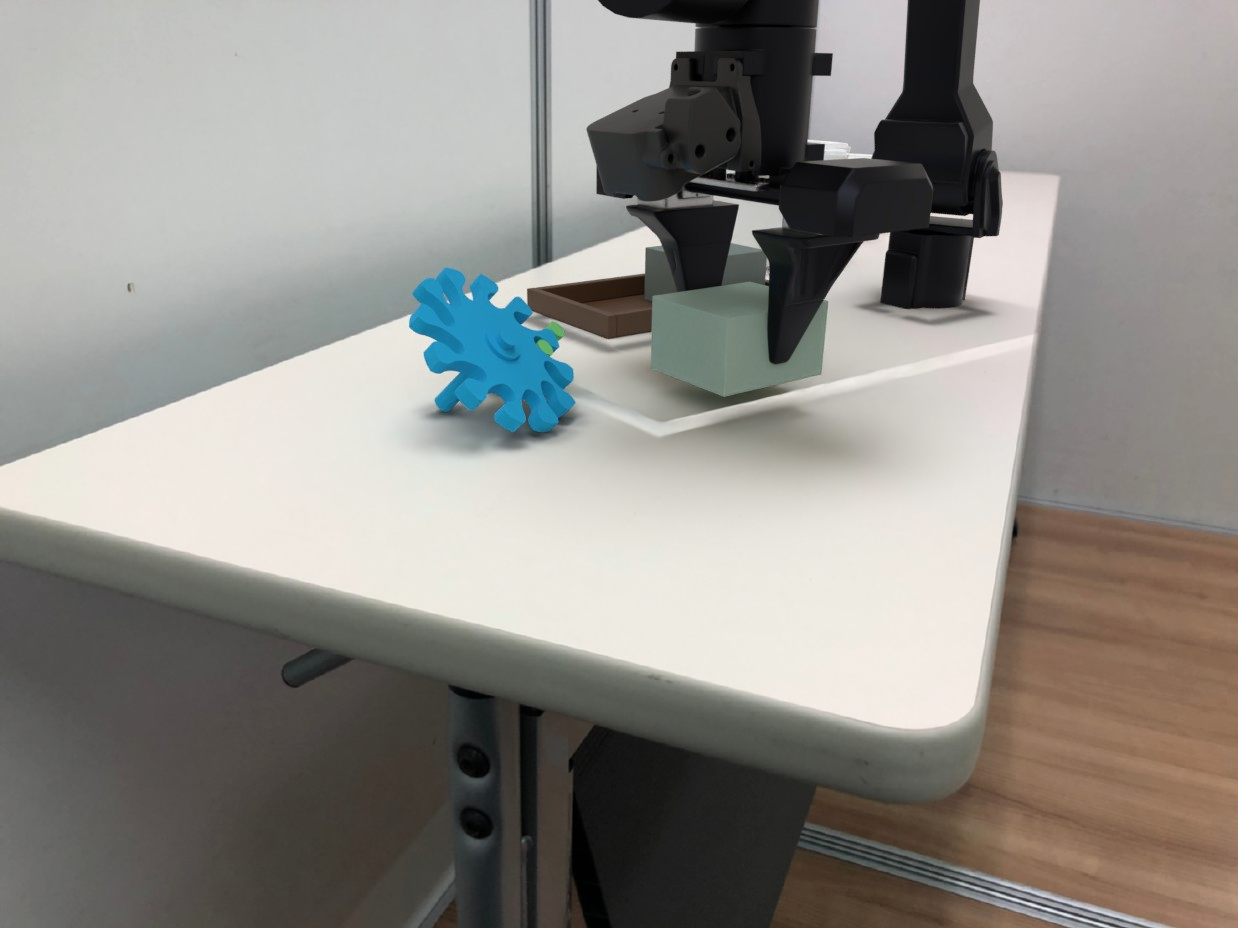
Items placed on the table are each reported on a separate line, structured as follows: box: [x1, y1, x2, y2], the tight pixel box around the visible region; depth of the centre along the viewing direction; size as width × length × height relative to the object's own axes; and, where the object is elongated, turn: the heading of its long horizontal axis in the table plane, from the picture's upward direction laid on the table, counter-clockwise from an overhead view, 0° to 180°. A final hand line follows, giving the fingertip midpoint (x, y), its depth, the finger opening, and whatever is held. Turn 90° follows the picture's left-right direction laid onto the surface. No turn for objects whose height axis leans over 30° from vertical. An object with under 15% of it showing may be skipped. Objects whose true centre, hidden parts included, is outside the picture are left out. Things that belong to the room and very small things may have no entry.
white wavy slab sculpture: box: [713, 139, 873, 268], centre depth 100 cm, size 35×16×10 cm, turn 155°
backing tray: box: [526, 273, 769, 340], centre depth 72 cm, size 17×10×2 cm, turn 126°
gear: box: [408, 267, 577, 433], centre depth 51 cm, size 11×6×10 cm
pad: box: [644, 243, 767, 301], centre depth 74 cm, size 7×6×4 cm
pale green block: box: [650, 282, 829, 398], centre depth 51 cm, size 7×6×4 cm
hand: (736, 349), depth 52 cm, fingers closed on pale green block, 6 cm apart
